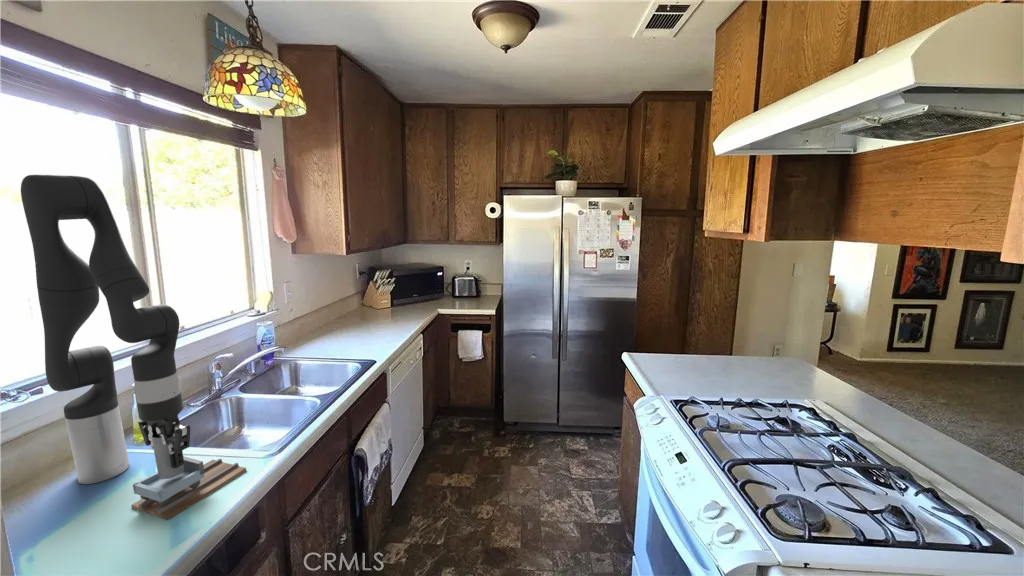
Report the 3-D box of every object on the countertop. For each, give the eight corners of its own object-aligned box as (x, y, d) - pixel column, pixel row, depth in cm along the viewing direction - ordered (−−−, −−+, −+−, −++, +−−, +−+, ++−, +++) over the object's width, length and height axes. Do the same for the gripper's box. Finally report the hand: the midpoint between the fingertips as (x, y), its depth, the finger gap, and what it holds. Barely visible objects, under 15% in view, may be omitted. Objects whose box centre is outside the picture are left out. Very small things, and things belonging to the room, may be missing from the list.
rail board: (131, 507, 89) (130, 501, 88) (213, 462, 106) (212, 456, 105) (167, 520, 85) (166, 513, 85) (246, 470, 102) (245, 465, 102)
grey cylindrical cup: (169, 480, 88) (162, 438, 86) (153, 478, 89) (146, 436, 87) (189, 468, 92) (183, 428, 91) (174, 466, 93) (167, 426, 92)
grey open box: (135, 501, 88) (131, 477, 87) (180, 476, 97) (176, 454, 96) (162, 510, 85) (158, 485, 84) (206, 484, 94) (202, 461, 93)
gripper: (199, 392, 89) (209, 460, 92) (157, 384, 93) (167, 450, 96) (161, 406, 82) (173, 480, 85) (117, 397, 86) (130, 468, 89)
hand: (170, 463), depth 90 cm, fingers closed on grey cylindrical cup, 4 cm apart
